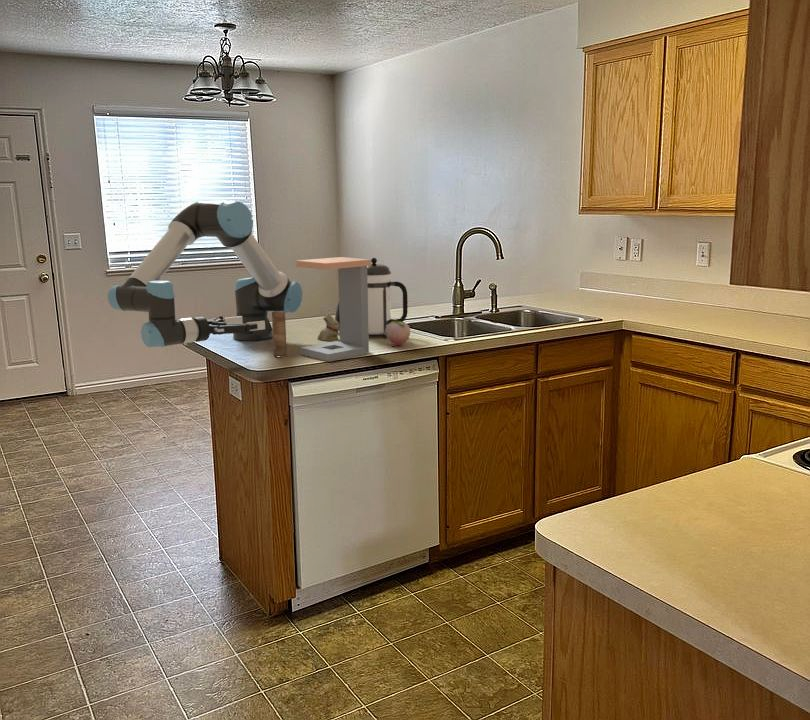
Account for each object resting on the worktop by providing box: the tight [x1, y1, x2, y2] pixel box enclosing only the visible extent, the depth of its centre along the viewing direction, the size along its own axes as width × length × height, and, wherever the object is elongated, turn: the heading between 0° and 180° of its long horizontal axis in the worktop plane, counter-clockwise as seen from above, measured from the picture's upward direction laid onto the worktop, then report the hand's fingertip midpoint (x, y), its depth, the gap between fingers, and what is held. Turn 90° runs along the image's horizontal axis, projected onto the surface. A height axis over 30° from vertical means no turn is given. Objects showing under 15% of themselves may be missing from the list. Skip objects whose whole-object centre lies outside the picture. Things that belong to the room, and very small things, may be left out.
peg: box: [271, 311, 288, 357], centre depth 251 cm, size 4×4×15 cm
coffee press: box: [367, 257, 409, 339], centre depth 284 cm, size 17×16×30 cm
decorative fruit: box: [385, 318, 411, 347], centre depth 267 cm, size 9×8×10 cm
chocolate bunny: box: [317, 313, 340, 341], centre depth 280 cm, size 6×8×10 cm
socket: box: [295, 256, 372, 362], centre depth 252 cm, size 16×19×32 cm
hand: (252, 322), depth 243 cm, fingers open, 13 cm apart
